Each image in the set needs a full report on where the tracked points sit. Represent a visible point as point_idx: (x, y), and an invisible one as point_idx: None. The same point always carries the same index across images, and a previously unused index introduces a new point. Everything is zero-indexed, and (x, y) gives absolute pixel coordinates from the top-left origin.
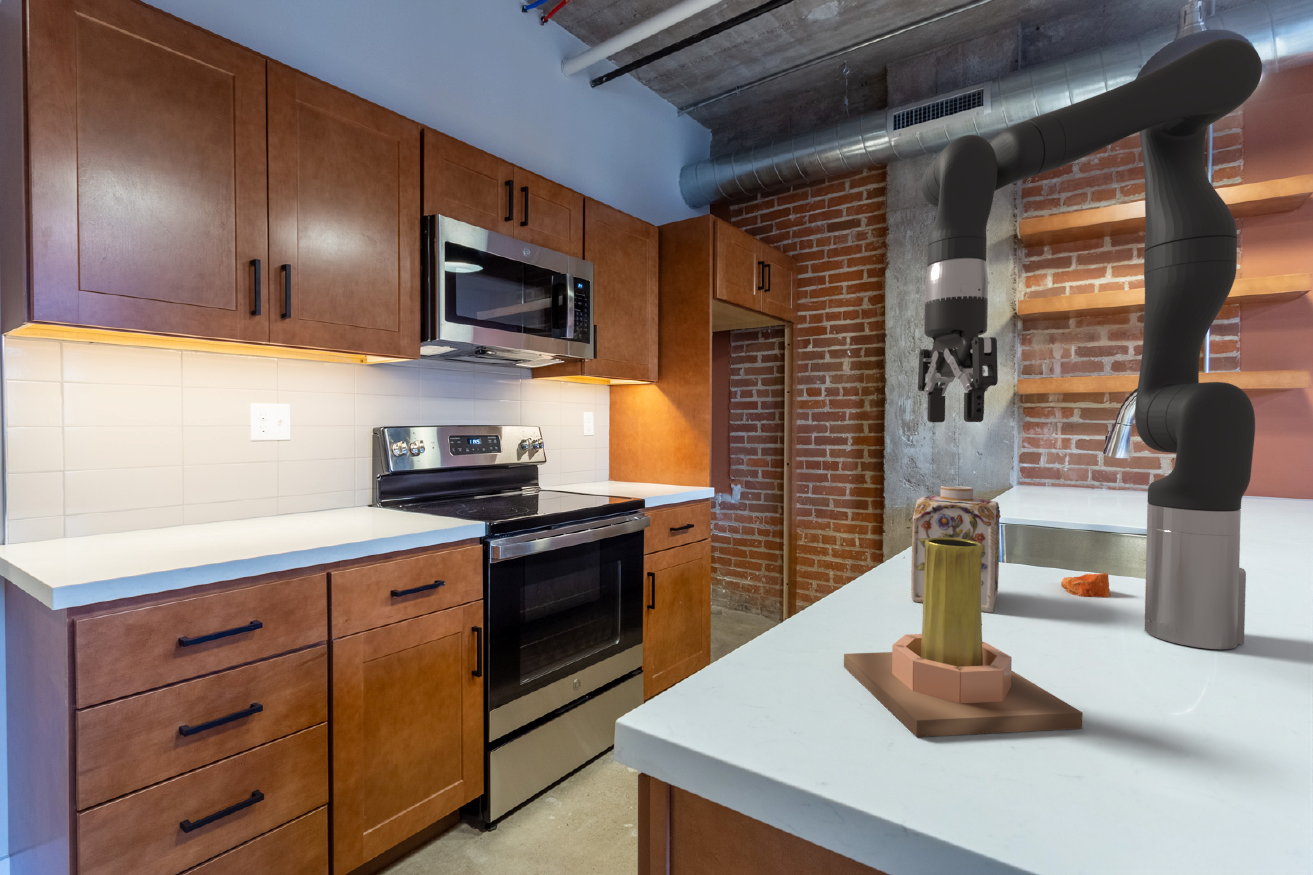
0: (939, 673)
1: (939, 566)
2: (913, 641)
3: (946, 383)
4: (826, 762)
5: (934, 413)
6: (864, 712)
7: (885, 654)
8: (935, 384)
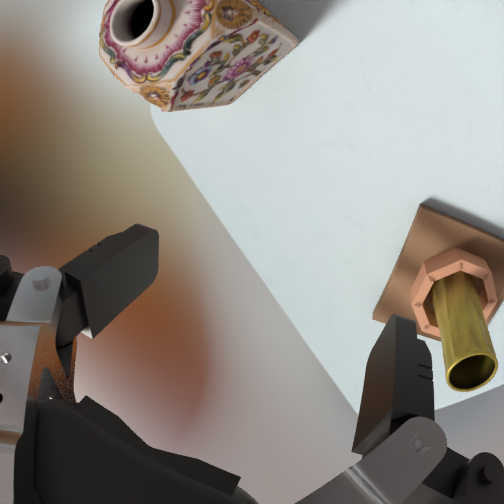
0: None
1: (467, 374)
2: (423, 307)
3: (54, 336)
4: (451, 388)
5: (138, 281)
6: (432, 347)
7: (390, 292)
8: (5, 302)
